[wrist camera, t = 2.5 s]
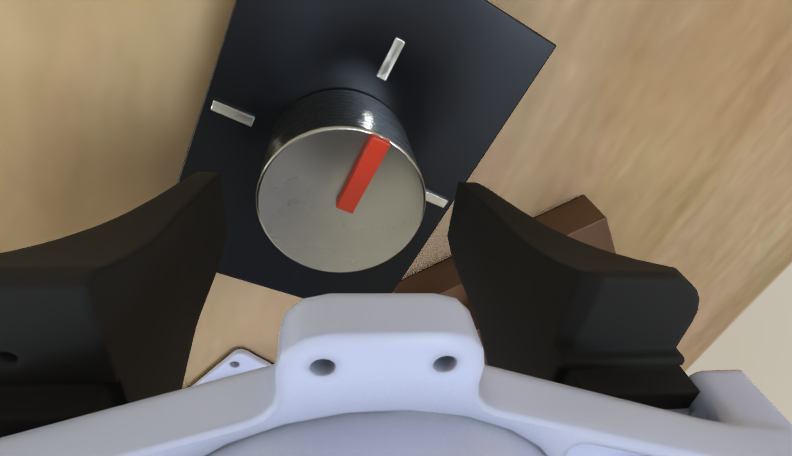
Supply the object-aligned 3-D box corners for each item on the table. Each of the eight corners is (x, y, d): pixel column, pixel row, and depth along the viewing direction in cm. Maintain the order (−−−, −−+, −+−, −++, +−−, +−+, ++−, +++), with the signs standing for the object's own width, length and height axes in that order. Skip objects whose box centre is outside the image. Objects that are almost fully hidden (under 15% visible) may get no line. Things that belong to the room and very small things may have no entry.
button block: (448, 365, 29) (463, 422, 26) (391, 284, 25) (401, 339, 21) (613, 294, 27) (653, 345, 24) (584, 194, 23) (627, 239, 20)
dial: (371, 234, 19) (380, 297, 16) (248, 188, 17) (230, 249, 14) (434, 127, 17) (460, 174, 13) (301, 61, 15) (293, 98, 12)
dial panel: (370, 280, 24) (375, 322, 22) (174, 215, 21) (152, 256, 18) (525, 29, 18) (559, 46, 15) (287, -123, 15) (278, -134, 12)
